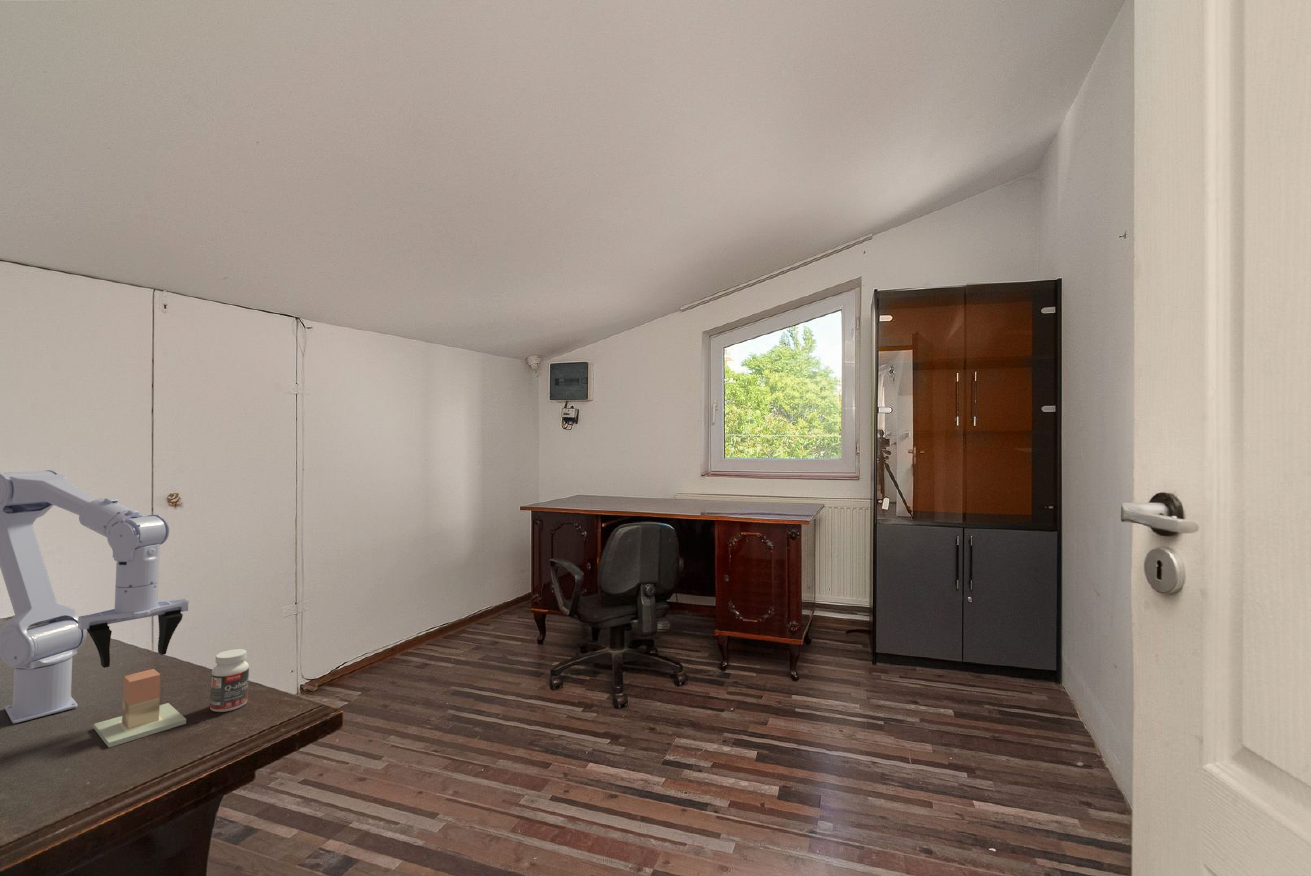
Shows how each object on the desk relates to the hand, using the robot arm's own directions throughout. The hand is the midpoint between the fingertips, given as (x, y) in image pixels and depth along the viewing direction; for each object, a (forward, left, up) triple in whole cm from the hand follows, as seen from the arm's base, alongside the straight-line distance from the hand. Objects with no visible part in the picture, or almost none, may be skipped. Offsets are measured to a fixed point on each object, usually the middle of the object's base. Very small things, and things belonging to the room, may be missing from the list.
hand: (134, 659), depth 101 cm
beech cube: (+5, 0, -10) cm, 11 cm away
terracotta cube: (+5, 0, -6) cm, 8 cm away
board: (+5, 0, -10) cm, 12 cm away
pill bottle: (+8, +12, -11) cm, 18 cm away
